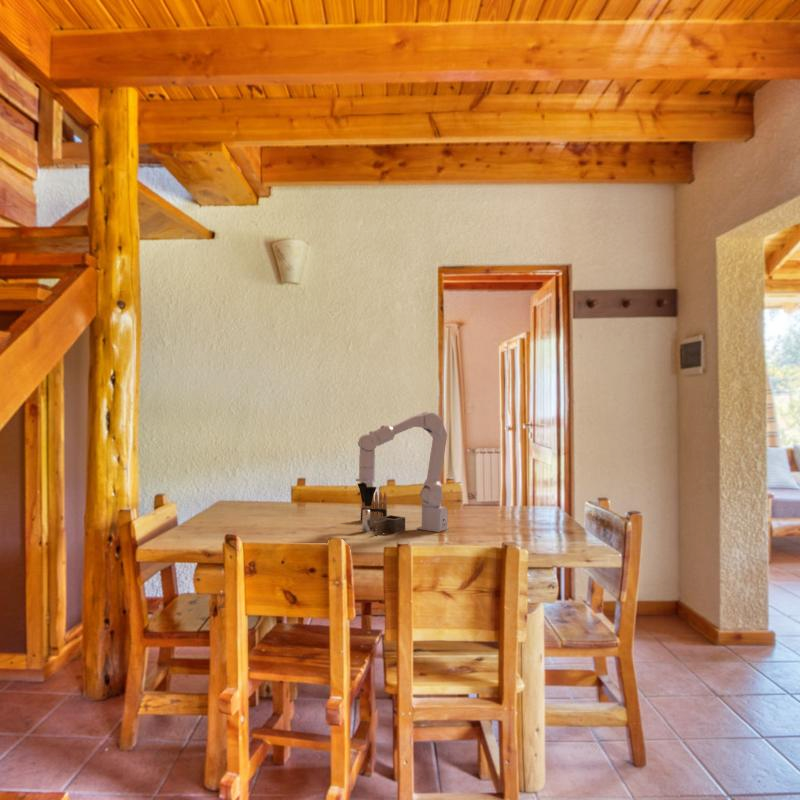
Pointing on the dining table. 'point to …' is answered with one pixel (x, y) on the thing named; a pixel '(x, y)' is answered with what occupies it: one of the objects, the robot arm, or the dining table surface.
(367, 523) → the pin
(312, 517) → the dining table surface
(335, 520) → the dining table surface
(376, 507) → the ammunition clip
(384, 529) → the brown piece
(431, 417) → the robot arm
